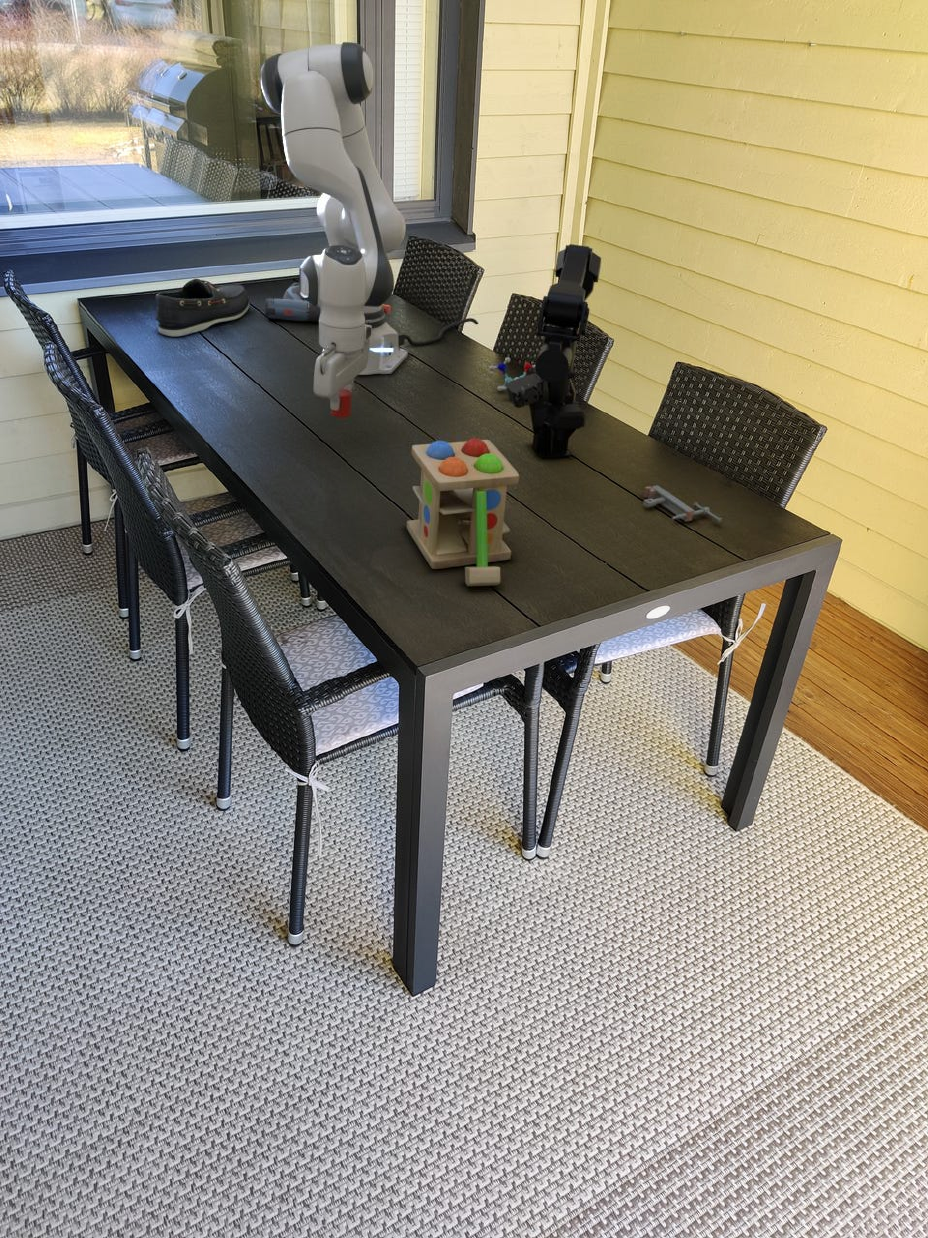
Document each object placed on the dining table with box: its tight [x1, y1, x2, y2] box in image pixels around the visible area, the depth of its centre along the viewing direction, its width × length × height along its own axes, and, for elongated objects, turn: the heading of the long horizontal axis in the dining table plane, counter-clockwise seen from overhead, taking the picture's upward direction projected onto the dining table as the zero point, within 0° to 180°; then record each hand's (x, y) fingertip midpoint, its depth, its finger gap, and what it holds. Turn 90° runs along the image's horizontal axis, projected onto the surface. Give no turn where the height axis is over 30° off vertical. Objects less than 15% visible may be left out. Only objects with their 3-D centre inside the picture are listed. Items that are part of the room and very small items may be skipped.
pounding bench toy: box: [406, 438, 520, 587], centre depth 162 cm, size 23×14×18 cm, turn 20°
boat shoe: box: [155, 278, 250, 337], centre depth 253 cm, size 13×33×10 cm, turn 147°
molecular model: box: [489, 356, 535, 392], centre depth 228 cm, size 12×10×10 cm
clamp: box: [643, 484, 723, 524], centre depth 186 cm, size 15×2×10 cm
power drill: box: [264, 282, 321, 322], centre depth 265 cm, size 5×19×20 cm
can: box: [330, 389, 352, 418], centre depth 196 cm, size 4×4×4 cm
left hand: (340, 404), depth 197 cm, fingers closed on can, 4 cm apart
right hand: (545, 443), depth 184 cm, fingers open, 9 cm apart
